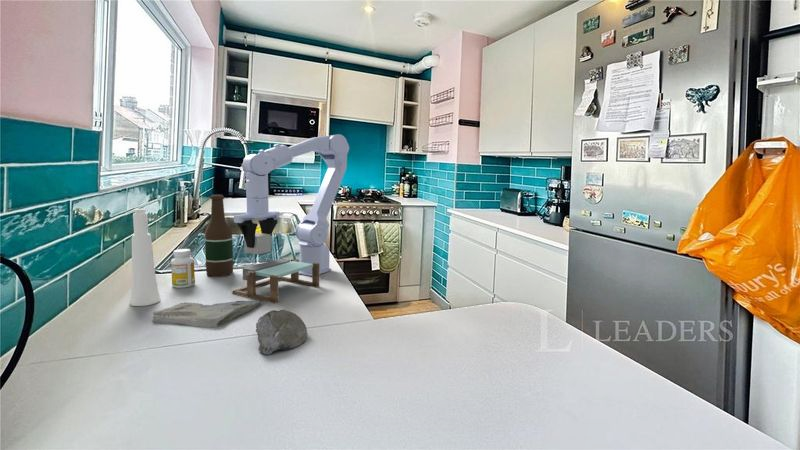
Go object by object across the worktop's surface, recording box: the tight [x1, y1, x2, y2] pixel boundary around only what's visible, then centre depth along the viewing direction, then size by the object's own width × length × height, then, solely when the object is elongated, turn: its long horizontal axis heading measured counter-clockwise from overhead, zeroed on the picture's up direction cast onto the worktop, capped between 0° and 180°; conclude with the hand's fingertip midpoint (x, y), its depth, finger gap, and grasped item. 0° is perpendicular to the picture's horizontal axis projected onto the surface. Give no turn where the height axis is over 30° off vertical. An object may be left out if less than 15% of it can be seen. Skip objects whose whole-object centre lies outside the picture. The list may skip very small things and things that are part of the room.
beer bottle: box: [204, 194, 234, 278], centre depth 114 cm, size 8×8×24 cm
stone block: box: [243, 232, 272, 255], centre depth 108 cm, size 5×5×5 cm
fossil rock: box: [152, 300, 263, 328], centre depth 84 cm, size 18×15×2 cm
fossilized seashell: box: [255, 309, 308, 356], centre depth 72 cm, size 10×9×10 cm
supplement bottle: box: [170, 248, 196, 289], centre depth 103 cm, size 5×5×10 cm
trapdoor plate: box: [242, 258, 313, 282], centre depth 101 cm, size 14×12×3 cm
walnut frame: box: [231, 258, 320, 304], centre depth 102 cm, size 18×14×6 cm
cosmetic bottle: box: [129, 208, 161, 307], centre depth 88 cm, size 6×6×22 cm
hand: (258, 245), depth 108 cm, fingers closed on stone block, 5 cm apart
